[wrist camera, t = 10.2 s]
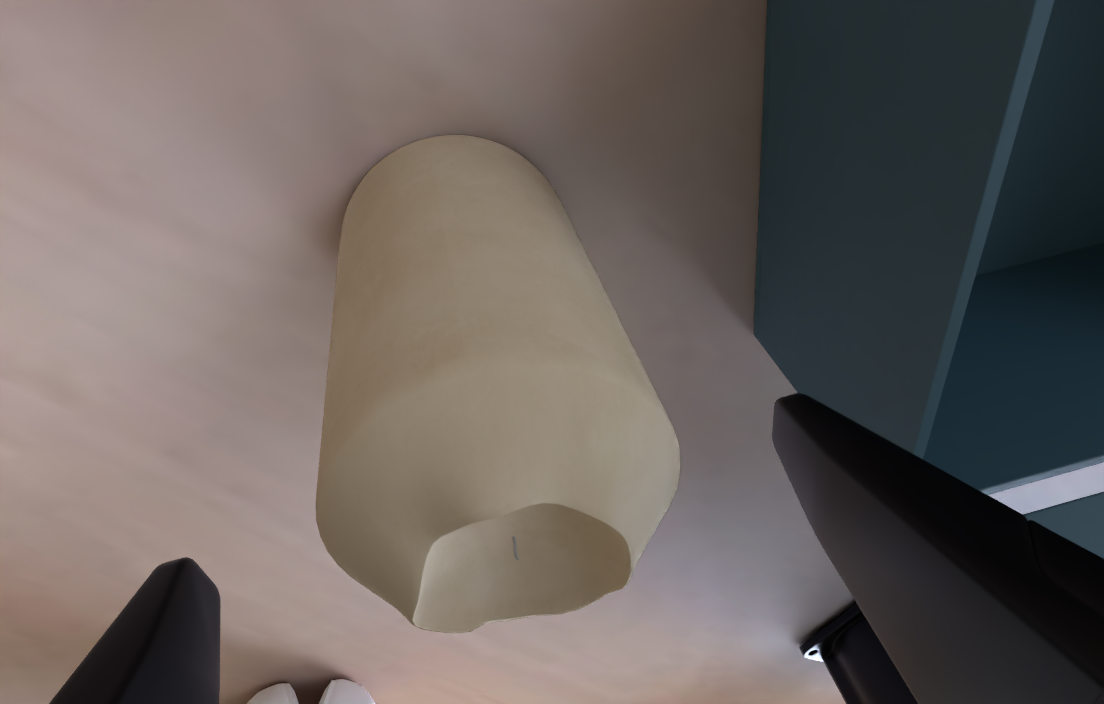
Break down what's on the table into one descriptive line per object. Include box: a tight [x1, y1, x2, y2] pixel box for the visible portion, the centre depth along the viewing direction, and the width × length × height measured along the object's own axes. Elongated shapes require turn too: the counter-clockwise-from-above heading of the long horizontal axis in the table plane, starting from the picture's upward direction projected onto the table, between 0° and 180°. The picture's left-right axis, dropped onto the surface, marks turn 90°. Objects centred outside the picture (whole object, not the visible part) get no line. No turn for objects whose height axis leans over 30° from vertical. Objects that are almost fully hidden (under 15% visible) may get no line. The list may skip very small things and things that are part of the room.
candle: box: [316, 135, 681, 633], centre depth 13 cm, size 6×6×10 cm
